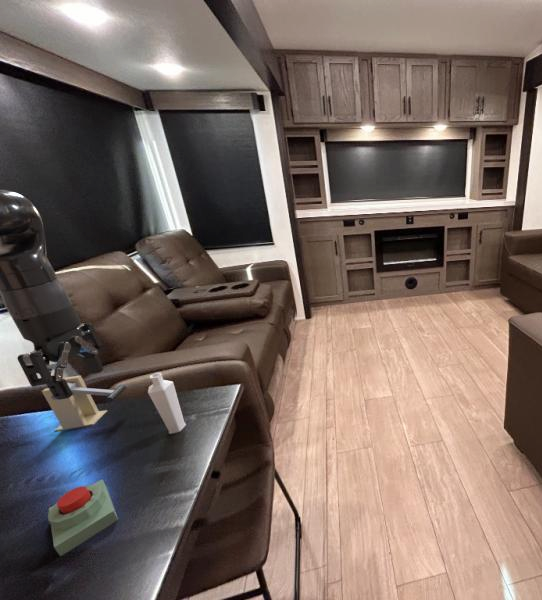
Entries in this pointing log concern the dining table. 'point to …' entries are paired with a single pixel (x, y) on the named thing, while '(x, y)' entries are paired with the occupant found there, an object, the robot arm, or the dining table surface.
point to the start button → (74, 500)
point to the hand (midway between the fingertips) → (82, 384)
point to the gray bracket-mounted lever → (97, 391)
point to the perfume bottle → (166, 403)
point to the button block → (82, 519)
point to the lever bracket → (74, 407)
